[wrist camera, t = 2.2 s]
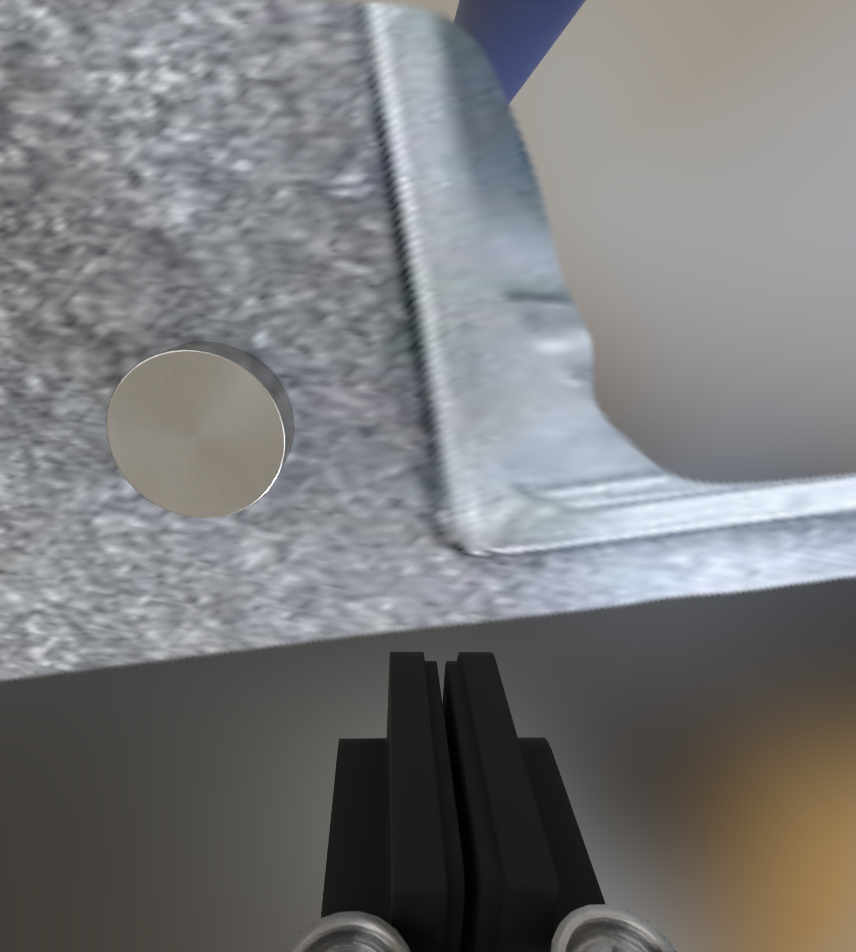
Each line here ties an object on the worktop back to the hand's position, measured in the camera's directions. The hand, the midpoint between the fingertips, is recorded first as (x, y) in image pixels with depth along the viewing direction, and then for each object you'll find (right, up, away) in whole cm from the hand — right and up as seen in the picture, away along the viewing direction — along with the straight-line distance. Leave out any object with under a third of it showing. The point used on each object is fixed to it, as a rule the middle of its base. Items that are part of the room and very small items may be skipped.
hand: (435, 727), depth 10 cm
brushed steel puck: (-10, +6, +17) cm, 20 cm away
